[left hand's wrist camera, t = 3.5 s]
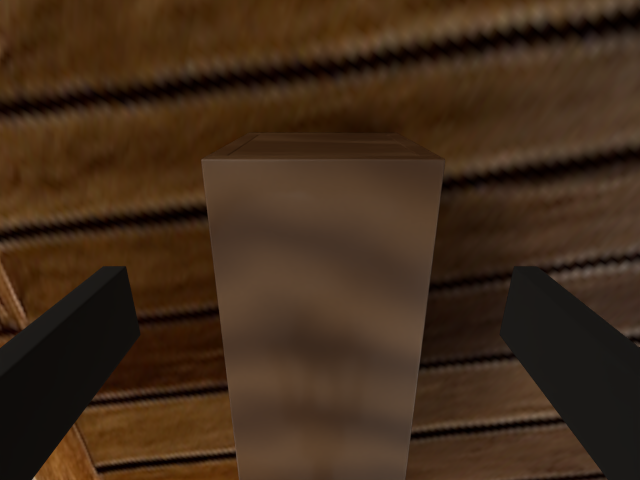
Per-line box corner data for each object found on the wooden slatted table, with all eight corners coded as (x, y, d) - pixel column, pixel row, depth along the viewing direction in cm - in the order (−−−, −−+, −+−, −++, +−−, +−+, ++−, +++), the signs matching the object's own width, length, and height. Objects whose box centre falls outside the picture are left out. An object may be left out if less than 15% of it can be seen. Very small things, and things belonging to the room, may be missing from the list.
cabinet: (379, 367, 32) (404, 487, 23) (264, 366, 32) (239, 486, 23) (397, 132, 25) (446, 159, 15) (248, 132, 25) (200, 158, 15)
